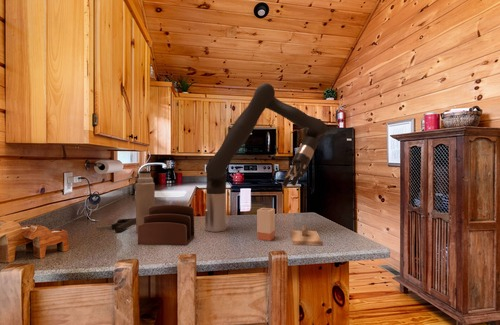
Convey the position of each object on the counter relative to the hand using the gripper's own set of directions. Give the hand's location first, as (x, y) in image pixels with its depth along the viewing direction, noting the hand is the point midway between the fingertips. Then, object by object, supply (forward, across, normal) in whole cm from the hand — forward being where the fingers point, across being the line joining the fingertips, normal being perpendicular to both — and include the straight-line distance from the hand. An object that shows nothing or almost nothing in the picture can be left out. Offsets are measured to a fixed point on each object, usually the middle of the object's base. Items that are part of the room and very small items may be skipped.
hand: (288, 185), depth 111 cm
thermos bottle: (+50, -25, -41) cm, 69 cm away
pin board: (+18, +9, +14) cm, 25 cm away
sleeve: (+26, +3, +1) cm, 26 cm away
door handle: (+56, -38, -54) cm, 86 cm away
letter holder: (+47, -8, -32) cm, 57 cm away
